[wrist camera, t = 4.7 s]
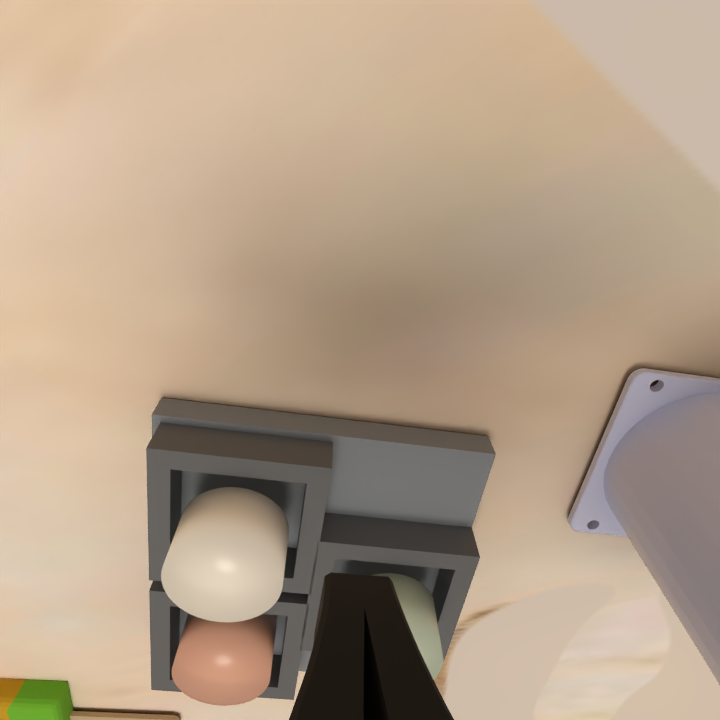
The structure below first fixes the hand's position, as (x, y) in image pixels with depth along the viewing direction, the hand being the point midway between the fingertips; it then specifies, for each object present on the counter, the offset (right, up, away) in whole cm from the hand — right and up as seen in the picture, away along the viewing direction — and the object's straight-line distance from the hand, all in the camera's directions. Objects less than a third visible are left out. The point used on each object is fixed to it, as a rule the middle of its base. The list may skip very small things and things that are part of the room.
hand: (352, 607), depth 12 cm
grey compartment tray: (-2, -3, +13) cm, 14 cm away
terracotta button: (-6, -7, +13) cm, 16 cm away
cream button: (-4, -1, +9) cm, 10 cm away
